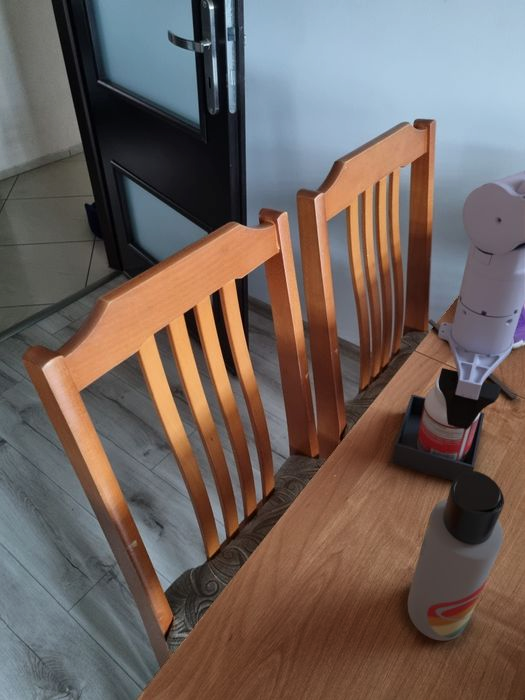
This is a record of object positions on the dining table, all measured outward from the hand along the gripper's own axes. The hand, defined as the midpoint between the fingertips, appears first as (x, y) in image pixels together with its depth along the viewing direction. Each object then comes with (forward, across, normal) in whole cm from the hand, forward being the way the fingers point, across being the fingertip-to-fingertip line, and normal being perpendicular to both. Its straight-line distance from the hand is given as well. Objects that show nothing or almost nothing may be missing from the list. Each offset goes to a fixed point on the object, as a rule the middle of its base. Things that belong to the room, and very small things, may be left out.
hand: (463, 400), depth 61 cm
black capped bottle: (+10, +19, +2) cm, 22 cm away
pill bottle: (+10, -1, -1) cm, 10 cm away
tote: (+10, -2, -2) cm, 10 cm away
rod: (+10, -19, -1) cm, 22 cm away
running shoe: (+10, -32, +3) cm, 34 cm away
